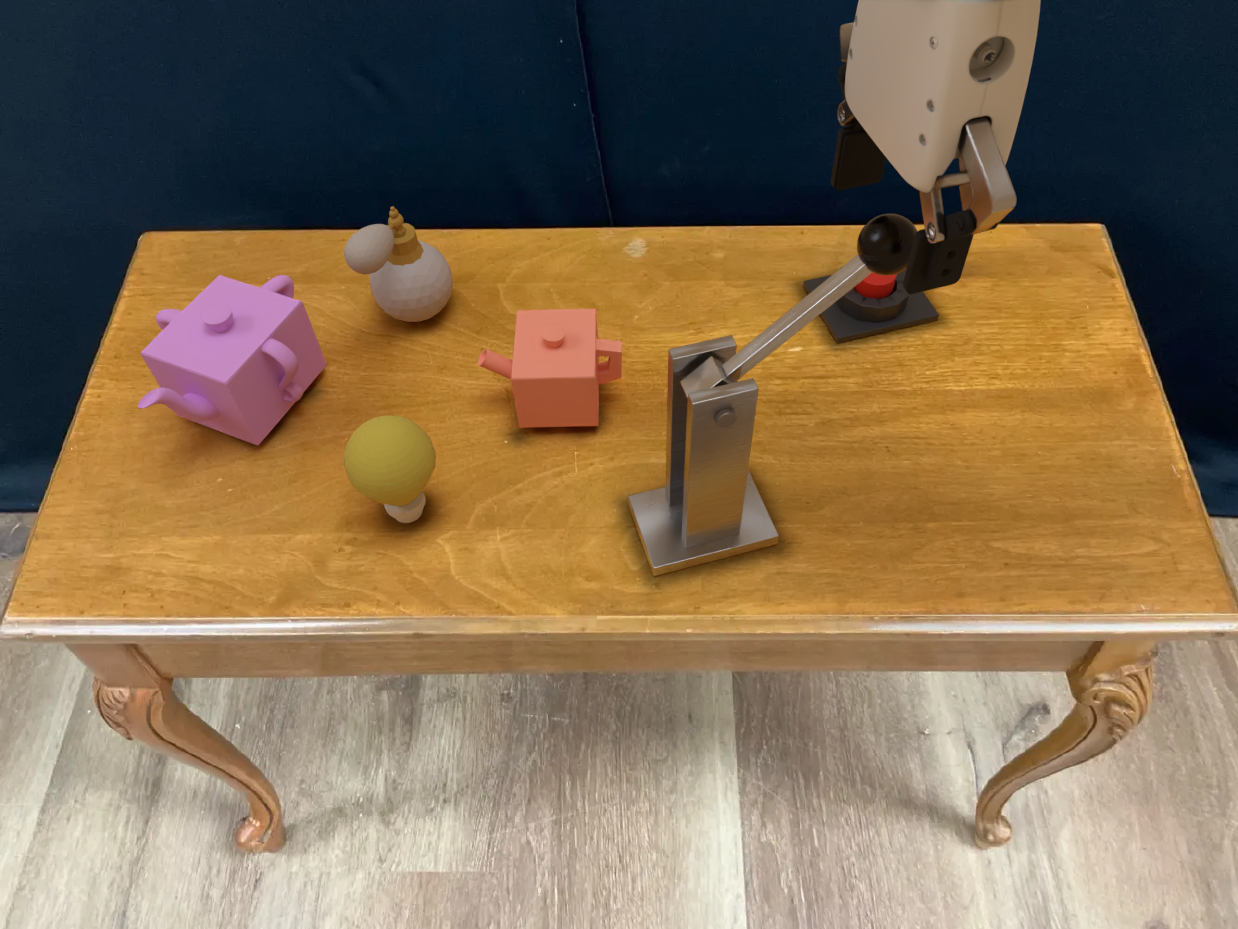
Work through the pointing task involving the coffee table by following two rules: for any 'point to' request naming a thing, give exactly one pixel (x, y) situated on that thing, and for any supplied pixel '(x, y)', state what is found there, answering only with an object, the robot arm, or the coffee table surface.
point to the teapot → (234, 357)
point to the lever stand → (704, 471)
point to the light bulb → (391, 464)
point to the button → (876, 286)
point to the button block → (874, 311)
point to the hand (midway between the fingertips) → (891, 232)
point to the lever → (816, 299)
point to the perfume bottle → (400, 269)
